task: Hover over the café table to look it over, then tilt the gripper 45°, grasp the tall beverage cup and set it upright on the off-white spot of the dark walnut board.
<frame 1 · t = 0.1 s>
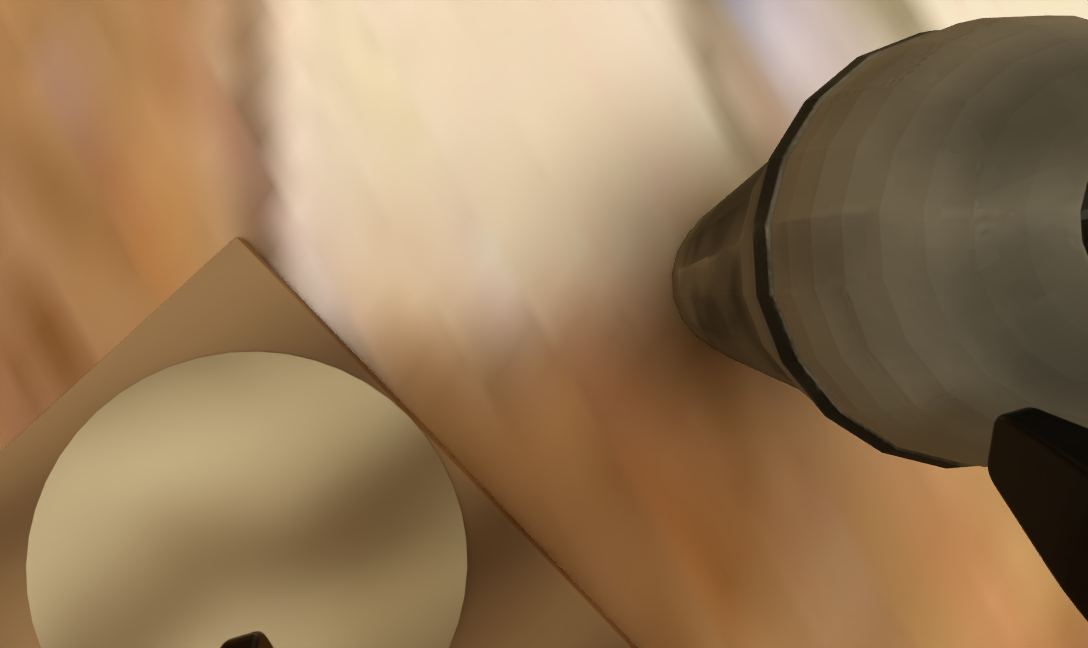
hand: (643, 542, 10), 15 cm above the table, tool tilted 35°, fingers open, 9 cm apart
beverage cup: (742, 280, 25), on the table
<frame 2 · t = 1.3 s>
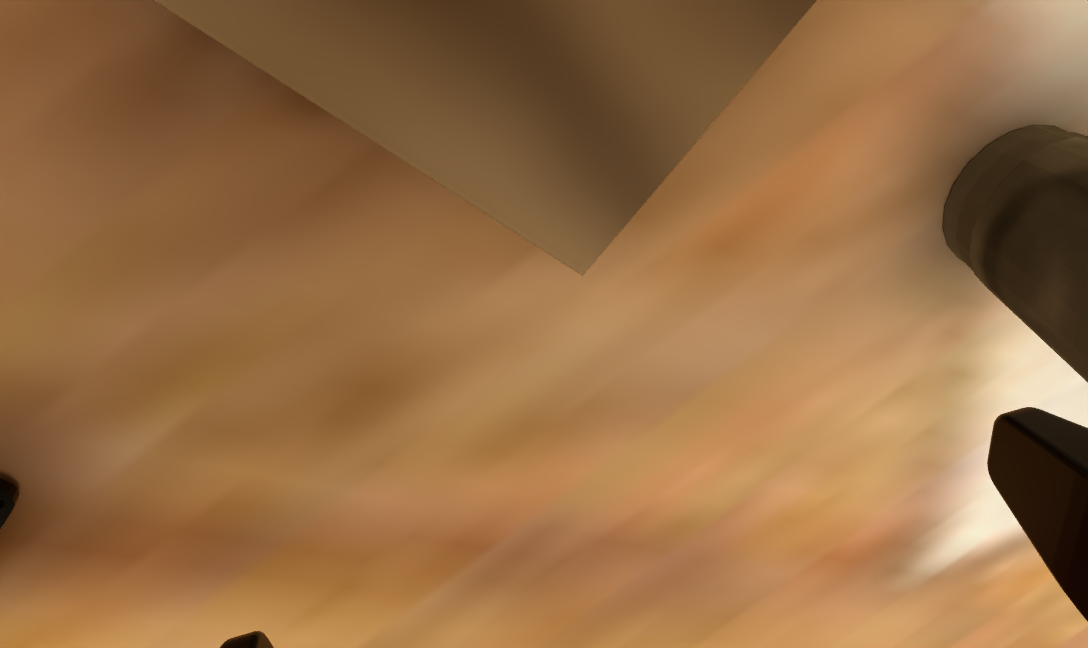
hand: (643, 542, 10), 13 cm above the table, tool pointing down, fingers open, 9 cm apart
beverage cup: (1008, 195, 25), on the table
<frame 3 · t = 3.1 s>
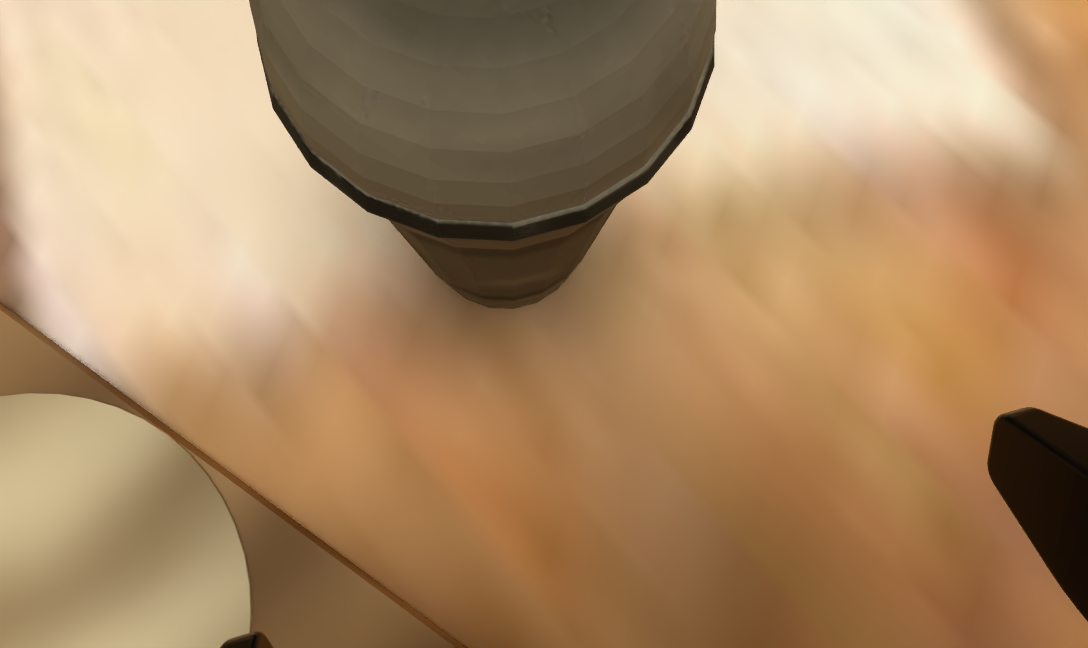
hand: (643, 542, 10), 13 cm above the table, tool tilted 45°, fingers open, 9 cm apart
beverage cup: (505, 236, 25), on the table
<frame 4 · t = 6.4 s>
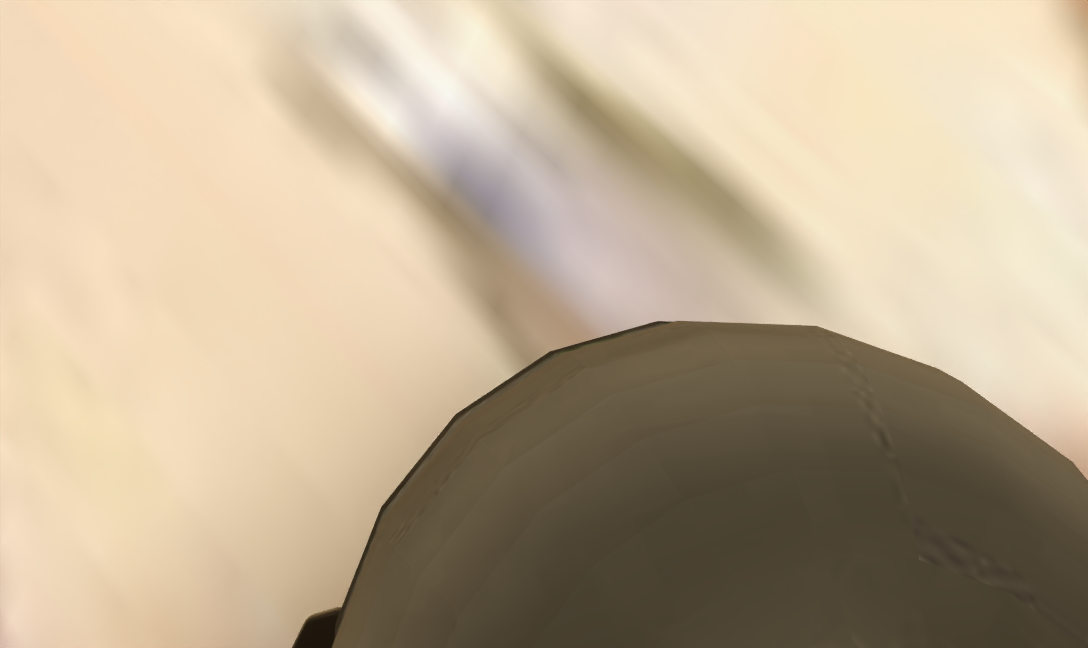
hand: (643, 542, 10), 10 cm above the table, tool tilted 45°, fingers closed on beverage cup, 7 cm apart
beverage cup: (605, 576, 19), on the table, touching gripper
when the fingers open (12 cm above the table, at t = 10.1 s): beverage cup stays where it is, resting on walnut board.
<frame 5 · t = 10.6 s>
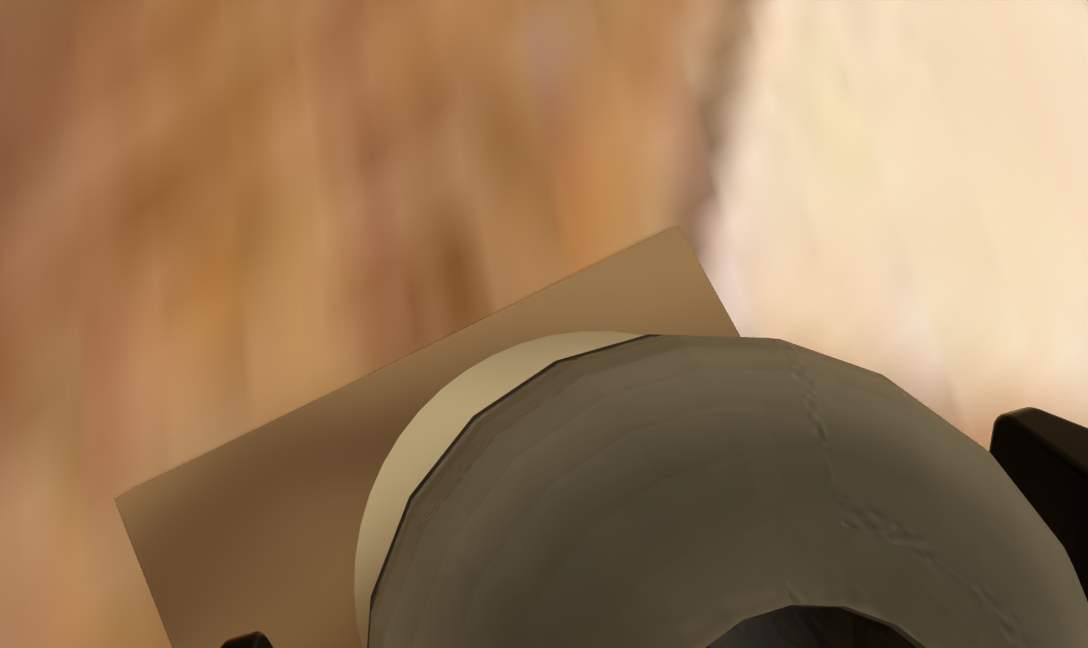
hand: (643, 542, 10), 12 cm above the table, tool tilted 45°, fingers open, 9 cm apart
beverage cup: (608, 570, 20), point 1 cm above the table, touching walnut board
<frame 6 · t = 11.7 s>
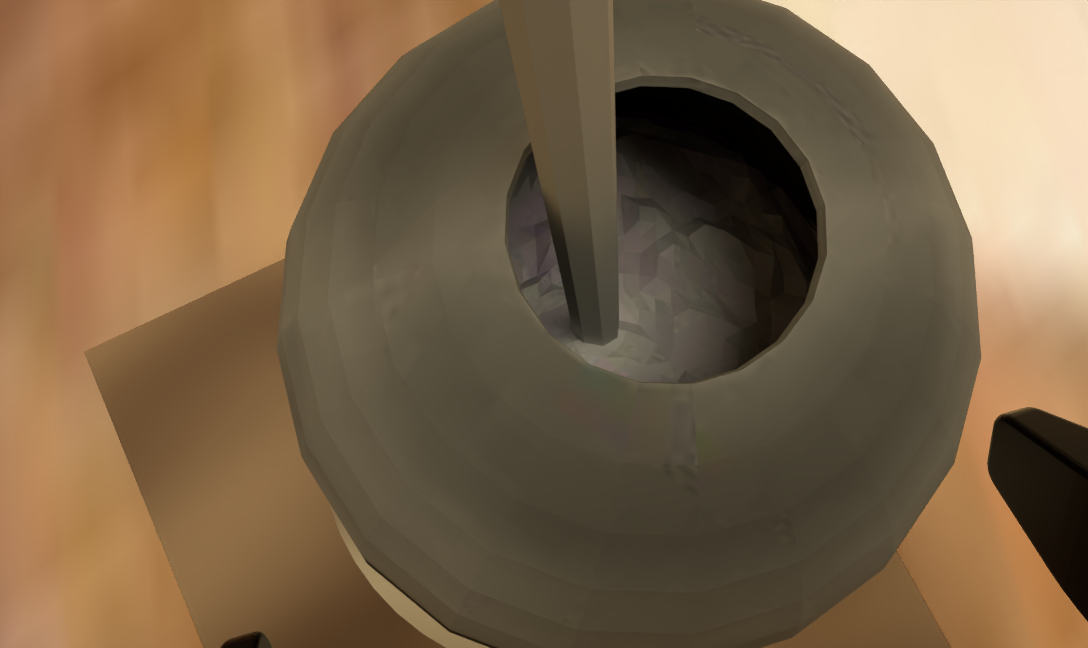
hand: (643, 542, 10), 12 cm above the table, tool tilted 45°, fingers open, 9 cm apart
walnut board: (541, 566, 21), on the table
beverage cup: (568, 421, 21), point 1 cm above the table, touching walnut board
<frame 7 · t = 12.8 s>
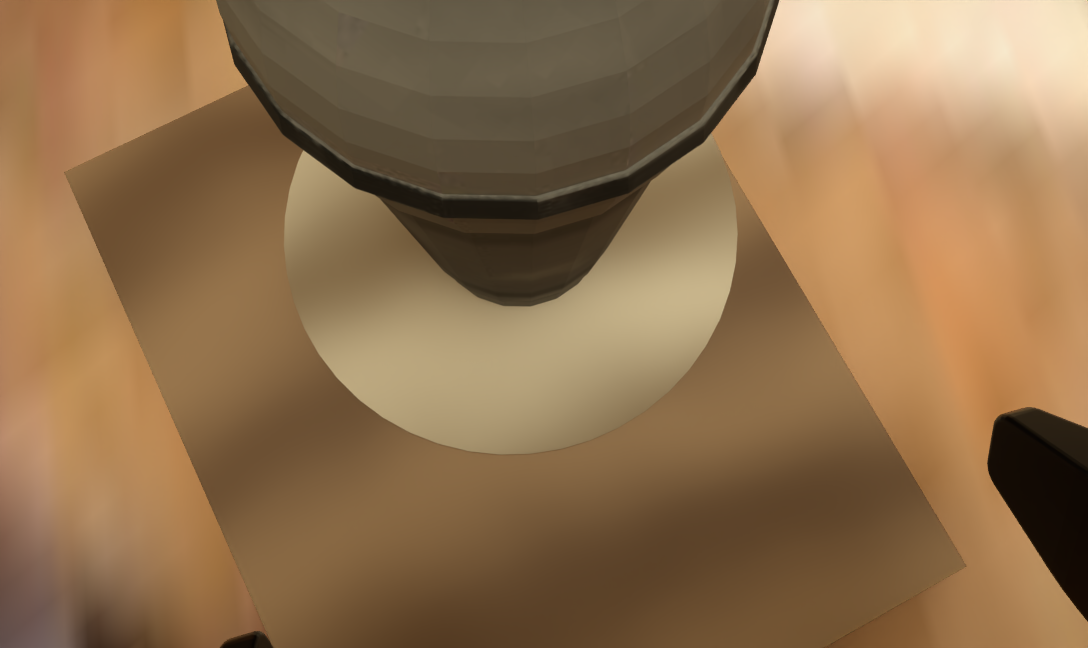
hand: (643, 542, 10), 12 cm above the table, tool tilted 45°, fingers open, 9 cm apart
walnut board: (497, 364, 22), on the table
beverage cup: (518, 226, 22), point 1 cm above the table, touching walnut board
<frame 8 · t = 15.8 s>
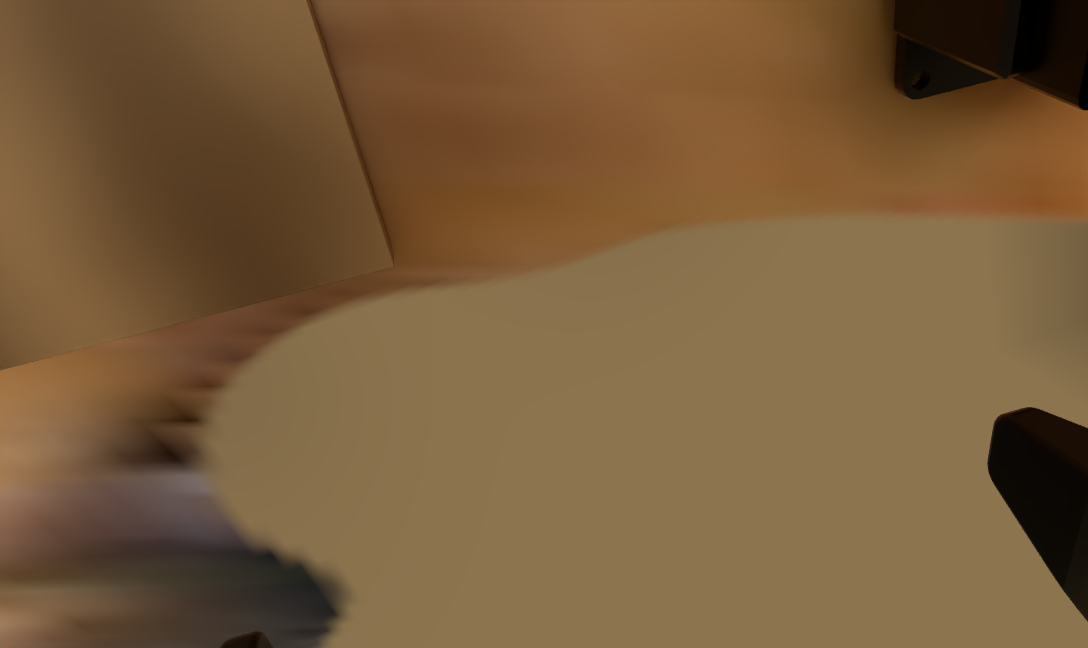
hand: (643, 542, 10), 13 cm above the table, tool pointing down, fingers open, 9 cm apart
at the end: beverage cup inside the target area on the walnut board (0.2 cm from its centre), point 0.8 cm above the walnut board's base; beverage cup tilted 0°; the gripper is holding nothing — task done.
